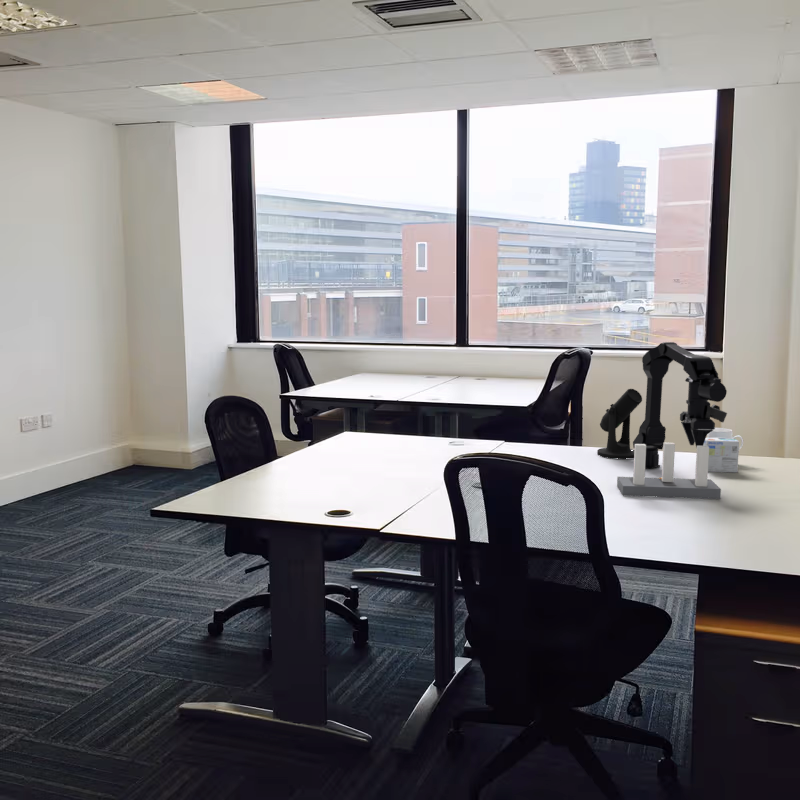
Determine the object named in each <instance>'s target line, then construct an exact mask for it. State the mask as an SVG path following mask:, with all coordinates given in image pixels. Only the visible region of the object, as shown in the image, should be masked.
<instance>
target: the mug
mask: <svg viewBox="0 0 800 800" xmlns="http://www.w3.org/2000/svg"><path fill="white" fill-rule="evenodd" d="M733 435H734V433H733V429H731V428H725V427H715V429H713V431H712V432H710V433H708V434H707V436H706V438H735V439H736V438H739V439H740V441H741V442H740V443H741V444H740V445H739V451H740V450H741V449H742V448H743V445H744V438H743V436H741V435H739V434H738V435H734V436H733Z"/></svg>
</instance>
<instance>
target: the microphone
mask: <svg viewBox="0 0 800 800" xmlns="http://www.w3.org/2000/svg"><path fill="white" fill-rule="evenodd" d="M642 401H643V395H641V393H640V392H639V391H638V390H636V389H634V388H628V389H626V391H625V392H624V393H622V395H621V396H620V397H619V398H618V399H617V400H616V402H614V403H611V404H610V407H609V408H607V409H606V410H605V413H604V415H603V416H602V417H601V421H600V423H599V426H600V428H601V429H602V430H603V432H606V433H607V443H606V447H602V448H599V449H597V456H599V455H600V456H599V457H601V456H602V457H601V458H605V457H608V458H607V459H611V458H618V459H617V460H627V459H626V458H634V448H633V449H632V448H631V441H630V440H631V438H630V436H631V435H630V432H631V431H630V428H631V414H632V413H633V412H634V410H635V409H636V408H638V406H640V405H641V403H642ZM621 425H622V428H621V435H620V439H619V440H618V441H617V435H616V433H617V432H616V429H618V427H620V426H621ZM631 450H633V451H631Z"/></svg>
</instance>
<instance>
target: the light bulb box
mask: <svg viewBox="0 0 800 800" xmlns="http://www.w3.org/2000/svg"><path fill="white" fill-rule="evenodd" d="M703 446H708V447H709V459H708V473H709V472H710V473H711V472H713V473H738V471H739V470H738V469H739V467H738V466H739V453H740V450H739V447H740V441H739V440H738V439H736V438H707V437H706V438H705V441H704V444H703Z"/></svg>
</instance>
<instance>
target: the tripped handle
mask: <svg viewBox="0 0 800 800" xmlns="http://www.w3.org/2000/svg"><path fill="white" fill-rule="evenodd" d="M675 453H676V444H675V442H666V441H664V443H663V448H662V463H661V464H662V465H661V467H662V468H661V478H662V481H663V482H673V478H674V473H675V471H674V470H675Z"/></svg>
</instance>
